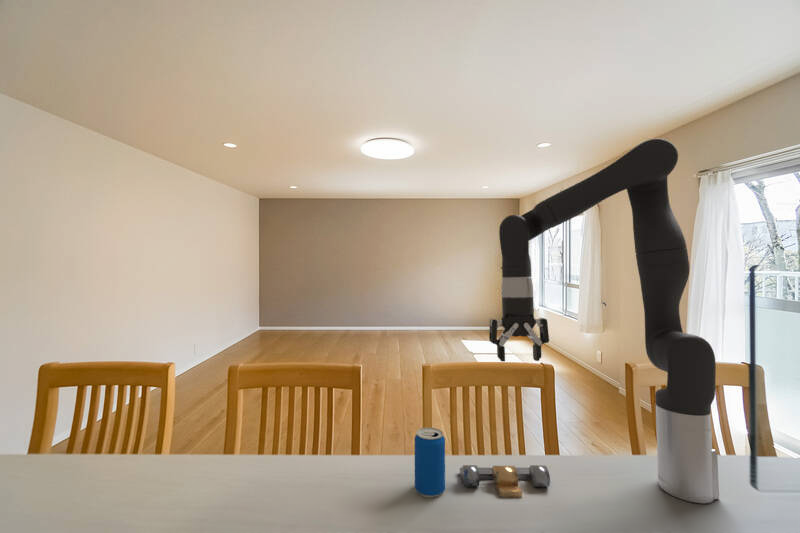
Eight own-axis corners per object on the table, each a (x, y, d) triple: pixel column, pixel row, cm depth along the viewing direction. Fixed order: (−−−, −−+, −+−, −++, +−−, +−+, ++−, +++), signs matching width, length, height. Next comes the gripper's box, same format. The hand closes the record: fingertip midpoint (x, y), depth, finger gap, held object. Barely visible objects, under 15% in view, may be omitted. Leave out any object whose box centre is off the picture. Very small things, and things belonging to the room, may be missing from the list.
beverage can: (444, 501, 71) (443, 440, 72) (412, 497, 72) (412, 437, 73) (446, 483, 77) (446, 427, 78) (417, 480, 79) (417, 425, 79)
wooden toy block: (512, 480, 79) (512, 462, 79) (522, 497, 73) (521, 477, 73) (492, 480, 79) (492, 462, 79) (500, 497, 73) (499, 477, 73)
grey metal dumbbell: (537, 473, 82) (537, 455, 82) (550, 490, 75) (549, 471, 75) (459, 472, 82) (459, 455, 82) (465, 490, 75) (465, 471, 75)
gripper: (493, 296, 85) (495, 364, 84) (552, 295, 85) (554, 363, 85) (485, 295, 93) (487, 358, 92) (539, 294, 93) (541, 357, 92)
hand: (519, 360), depth 88 cm, fingers open, 8 cm apart
